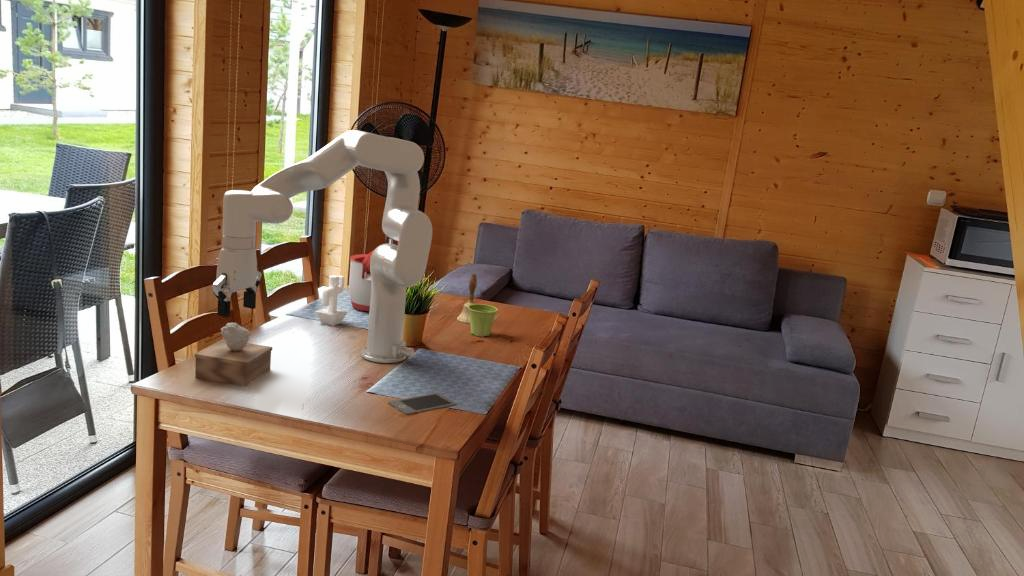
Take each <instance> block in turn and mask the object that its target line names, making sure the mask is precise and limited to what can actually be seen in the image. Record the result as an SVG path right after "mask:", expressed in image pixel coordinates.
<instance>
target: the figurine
mask: <svg viewBox="0 0 1024 576" xmlns="http://www.w3.org/2000/svg"><path fill="white" fill-rule="evenodd" d="M328 283H329V284H328V287H327V288H324V289H323V291H322V295H321V306H323V307H324V308H322V309H319V310H317V311H315V314H316V315H317V317H318V320H319V322H320V323H321V324H324V325H328V326H332V327H334V326H337V325H339V324H342V322H343V320H344V319H345V317H346V316H347V314H348V313H349V311H348V310H344V309H339V308H338V296H339V294H342V293H343V292H344V289H345V276H344V275H329V276H328Z"/></svg>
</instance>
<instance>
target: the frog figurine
mask: <svg viewBox="0 0 1024 576" xmlns="http://www.w3.org/2000/svg"><path fill="white" fill-rule="evenodd" d="M220 330H221V332H220V335H221V336H222V339H225V340H226V344H227V346H228V348H229V349H231V350H233V351H240V350H242V349H243V348H245V346H246V345H247V343H248V342H249V339H250V335H251V334H252V333H251V331H249V330H248V329H247V328H245V327H243V326H241V325H240V324H238V323H237V322H227V323H226V324H225V326H223V327H221V328H220Z"/></svg>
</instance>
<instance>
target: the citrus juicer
mask: <svg viewBox="0 0 1024 576" xmlns="http://www.w3.org/2000/svg"><path fill="white" fill-rule="evenodd" d="M374 250H375V249H373V250H372V251H370V252H369V253H362V254H361V253H360V254H353V255H350V256H349V259H350V261H349V262H350V267H349V279H348V292H349V293H348V294H349V297H350V302H351V306H352V307H353V308H354V309H356V311H363V312H370V300H371V272H370V259H371V255H372V253H373V251H374Z"/></svg>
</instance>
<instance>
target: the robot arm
mask: <svg viewBox="0 0 1024 576" xmlns="http://www.w3.org/2000/svg"><path fill="white" fill-rule="evenodd" d="M424 161H425V154H424V151H423V150H422V148H421V147H420V145H418V144H417V143H415V142H413V141H410V140H406V139H405V140H404V139H400V138H397V137H391V136H385V135H380V134H376V133H373V132H367V131H363V130H359V129H358V130H357V129H350V130H347V131H344V132H343V133H342V134H340V135H339V136H337V137H336V138H335V139H333V140H332V141H330V142H329V143H327V144H326V145H325V146H322V148H320V149H319V150H317V151H316V152H314V153H313V154H312V155H310V156H308V157H307V158H305V159H303V160H301V161H298V162H296V163H294V164H292V165H290V166H287V167H285V168H282V169H281V170H279V171H277V172H275V173H273V174H272V175H270V176H269V177H267V178H266V179H264V180H263V181H261V182H259V184H257V185H255V186H254V187H253V189H252V190H251V191H250V190H245V189H230V190H227V191H225V193H224V195H223V198H222V199H223V202H222V203H223V205H222V235H221V236H222V239H221V241H222V243H221V249H220V250H219V254H218V257H217V258H218V259H217V263H216V264H217V265H216V267H217V268H216V276H215V277H216V278H215V281H214V282H213V283H212V285H211V288H212V290H213V295H214V296H215V299H216V300H217V316H219V317H223V318H230V317H231V300H230V298H231V296H232V294H233V293H235V292H240V291H243V304H242V306H243V308H246V309H251V310H254V309H256V305H257V304H256V303H257V293H258V291H259V289H258V287H259V286H260V284H261V278H262V272H260V271H259V270H258V261H257V260H258V259H257V250H256V243H257V242H256V240H257V238H256V236H257V222H258V223H266V224H275V225H276V224H281V223H285V222H286V221H288V220H289V219H290V218H291V217H292V215H293V212H294V206H293V203H292V201H291V200H290V199H291V198H293V197H295V196H298V195H299V194H302V193H305V192H306V193H307V192H311V191H318V190H322V189H326V188H328V187H331V186H332V185H334V184H335V183H336V182H337V181H338V180H340V179H341V178H342V177H344V176H345V175H347V174H348V173H349V172H351V171H352V170H354V169H356V167H358V166H361V167H363V168H369V169H372V170H377V171H381V172H382V171H383V172H384V174H385V176H386V180H387V192H386V193H387V194H386V199H385V206H384V209H383V214H382V215H383V216H382V219H381V220H382V221H381V229H382V232H383V234H384V235H386V237H388V238H390V239H392V240H394V241H396V242H397V244H395V243H389V242H387V243H382V244H380V245H378V246H377V247H376V248H374V249H373V250H374V251H373V250H372V251H373V253H372V255H371V259H370V272H371V300H370V311H368V313H369V314H368V315H369V316H368V328H367V341H366V342H367V343H366V346H365V347H362V349H360V356H361V357H362V359H364V360H367V361H371V362H375V363H381V364H382V363H383V364H393V363H395V364H396V363H399V362H402V361H404V360H406V359H407V357H408V358H413V357H414V355H415V351H414V348H412V347H407V346H406V340H405V341H403V334H404V323H405V322H404V321H405V310H406V304H407V303H406V299H407V289H406V288H411V287H414V286H416V285H418V284H419V283H420V282H421V281H422V279H423V277H424V275H425V272H426V269H427V264H428V260H429V255H430V254H429V253H430V249H431V245H432V240H433V225H432V222H431V220H430V217H429V216H428V215H427V214H426V213H424V212H423V211H421V210H419V209H418V207H419V199H420V193H421V184H420V183H421V182H420V176H419V172H418V171H420V170H421V168H422V167H423V165H424ZM244 290H245V291H244Z"/></svg>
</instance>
